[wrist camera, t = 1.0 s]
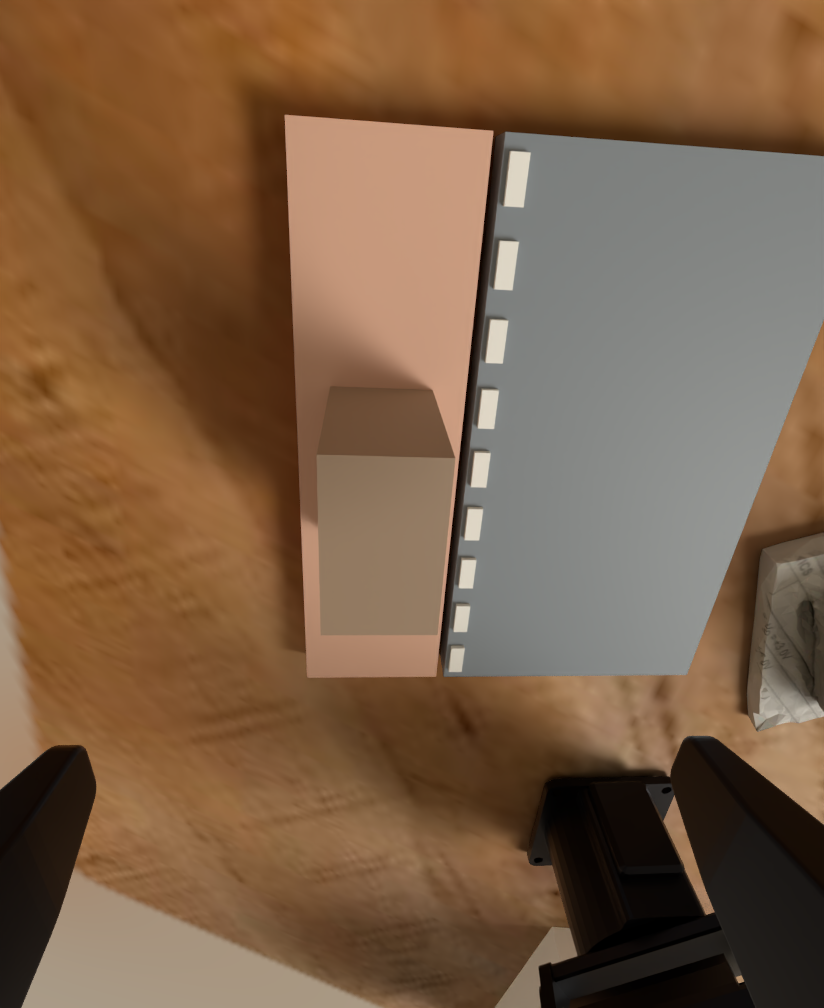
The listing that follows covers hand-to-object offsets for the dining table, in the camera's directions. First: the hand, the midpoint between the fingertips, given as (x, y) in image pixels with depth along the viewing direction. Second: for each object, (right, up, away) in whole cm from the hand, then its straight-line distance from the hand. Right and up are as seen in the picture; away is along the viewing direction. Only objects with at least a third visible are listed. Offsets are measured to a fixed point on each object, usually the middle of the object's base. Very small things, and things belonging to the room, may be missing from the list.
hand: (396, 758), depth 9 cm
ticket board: (+7, +5, +11) cm, 14 cm away
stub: (-1, +6, +10) cm, 12 cm away
